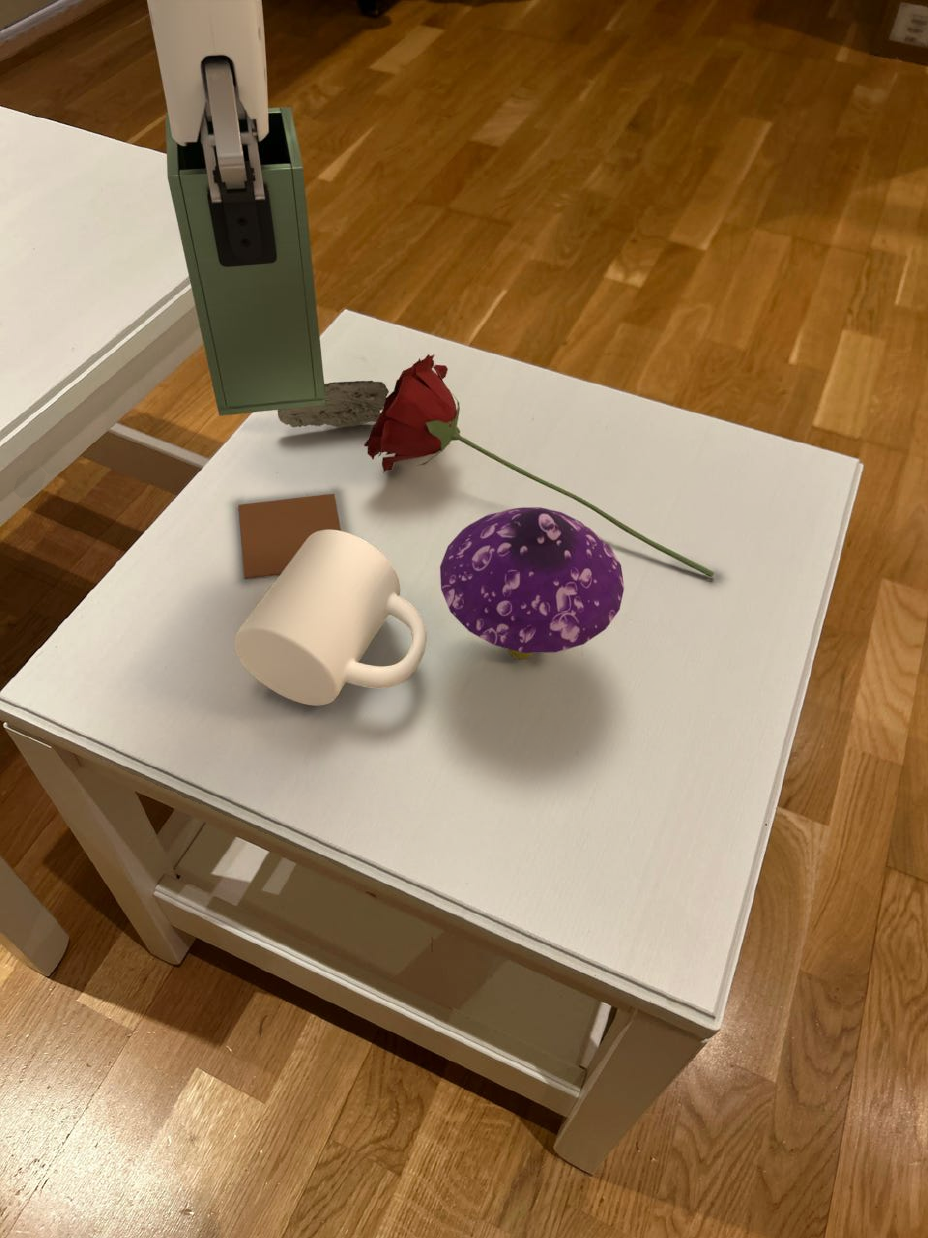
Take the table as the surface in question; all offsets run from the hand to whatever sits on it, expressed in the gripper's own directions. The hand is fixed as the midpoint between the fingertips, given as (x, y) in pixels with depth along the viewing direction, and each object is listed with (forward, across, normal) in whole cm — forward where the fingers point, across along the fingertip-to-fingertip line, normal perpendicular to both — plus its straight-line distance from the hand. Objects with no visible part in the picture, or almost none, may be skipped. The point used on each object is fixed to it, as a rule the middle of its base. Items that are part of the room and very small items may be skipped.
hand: (244, 222), depth 55 cm
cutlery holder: (+11, 0, 0) cm, 11 cm away
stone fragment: (+27, -12, +5) cm, 30 cm away
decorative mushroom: (+27, +15, +16) cm, 35 cm away
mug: (+27, +13, +3) cm, 30 cm away
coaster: (+27, 0, 0) cm, 27 cm away
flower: (+27, +1, +21) cm, 34 cm away
